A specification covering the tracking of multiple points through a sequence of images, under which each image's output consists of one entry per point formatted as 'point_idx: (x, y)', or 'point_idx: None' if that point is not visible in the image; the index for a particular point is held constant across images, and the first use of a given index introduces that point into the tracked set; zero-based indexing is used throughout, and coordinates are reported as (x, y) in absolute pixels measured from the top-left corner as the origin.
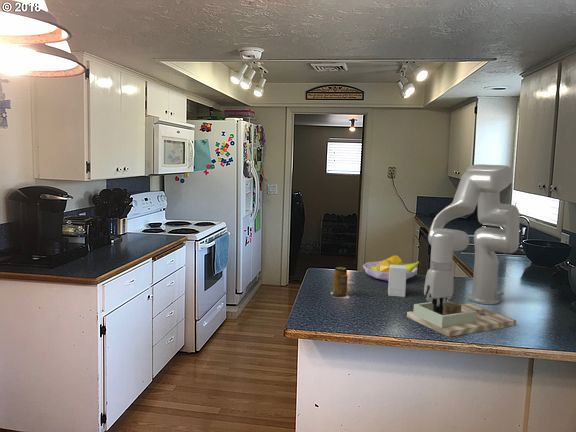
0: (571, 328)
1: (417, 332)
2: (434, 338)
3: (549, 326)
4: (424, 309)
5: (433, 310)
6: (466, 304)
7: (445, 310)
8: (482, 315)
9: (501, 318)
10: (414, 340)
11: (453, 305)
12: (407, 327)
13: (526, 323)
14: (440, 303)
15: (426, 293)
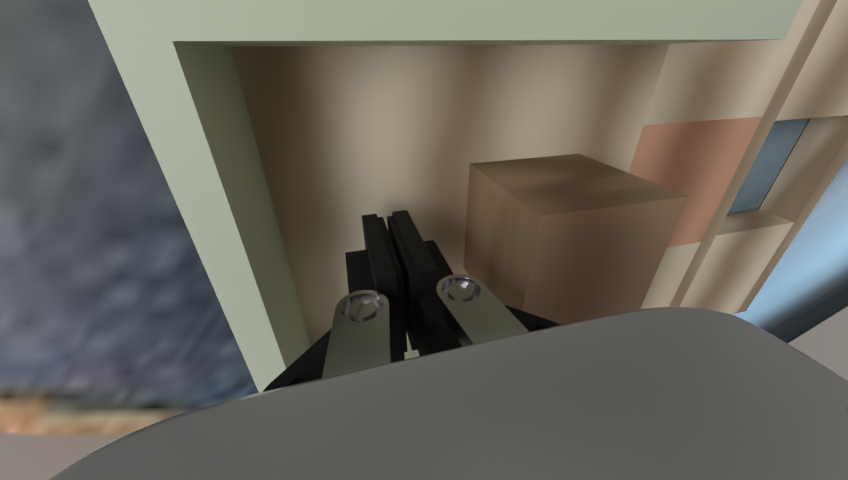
0: (798, 336)
1: (112, 316)
2: (206, 399)
3: (782, 316)
4: (209, 266)
5: (347, 267)
6: None
7: (495, 253)
8: (719, 224)
9: (730, 283)
10: (26, 424)
11: (578, 310)
12: (36, 205)
13: (772, 280)
14: (433, 352)
15: (156, 458)
